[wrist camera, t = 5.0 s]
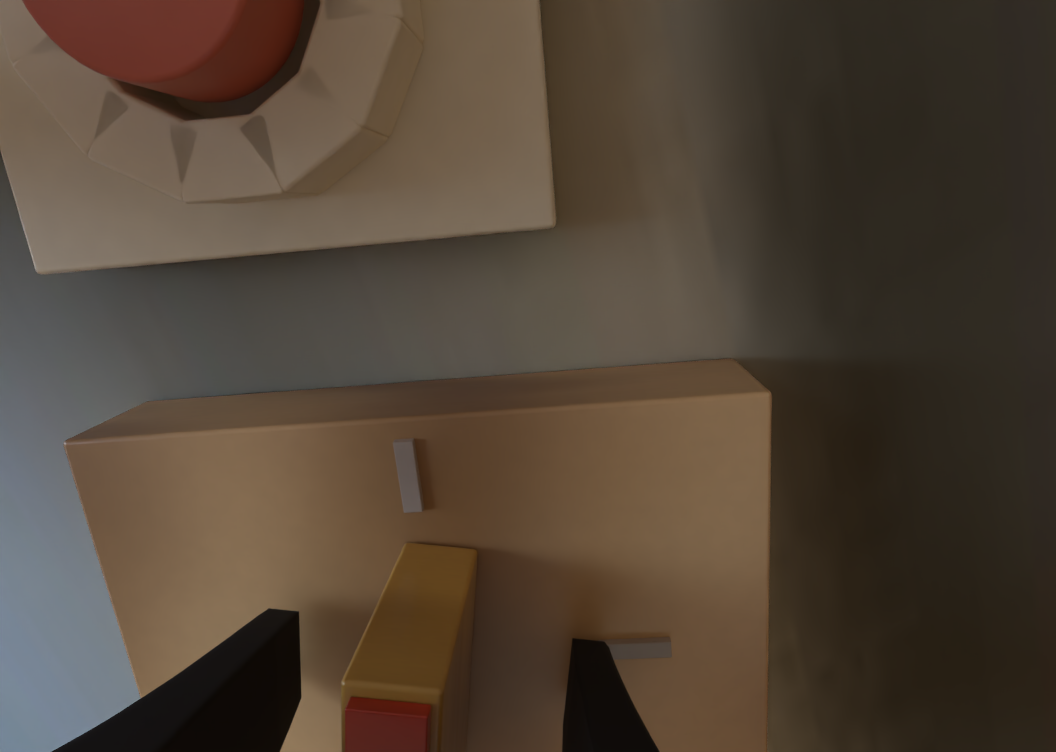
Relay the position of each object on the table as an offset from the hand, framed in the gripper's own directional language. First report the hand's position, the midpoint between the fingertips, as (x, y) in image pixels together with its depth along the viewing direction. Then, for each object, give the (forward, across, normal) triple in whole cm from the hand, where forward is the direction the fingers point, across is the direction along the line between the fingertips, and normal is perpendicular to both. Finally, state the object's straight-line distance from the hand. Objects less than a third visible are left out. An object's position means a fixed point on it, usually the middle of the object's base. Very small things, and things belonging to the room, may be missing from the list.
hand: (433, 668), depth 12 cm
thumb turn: (0, 0, 0) cm, 0 cm away
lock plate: (+3, 0, 0) cm, 3 cm away
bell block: (+3, +4, -12) cm, 12 cm away
